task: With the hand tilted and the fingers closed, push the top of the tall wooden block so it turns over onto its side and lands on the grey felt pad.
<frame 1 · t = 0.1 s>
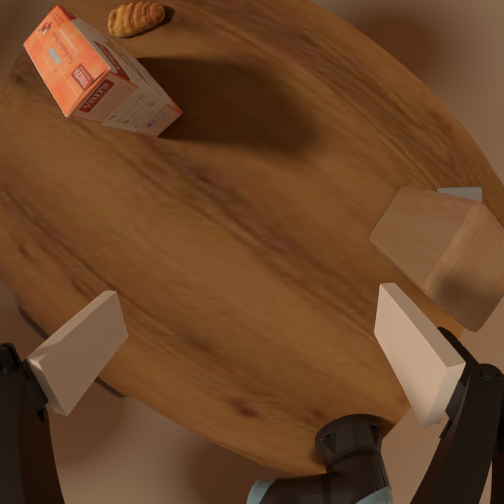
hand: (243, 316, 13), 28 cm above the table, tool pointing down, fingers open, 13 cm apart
cracker box: (145, 94, 36), on the table
pastry: (137, 21, 33), on the table
wooden block: (406, 229, 39), on the table, touching felt pad
felt pad: (460, 223, 38), on the table
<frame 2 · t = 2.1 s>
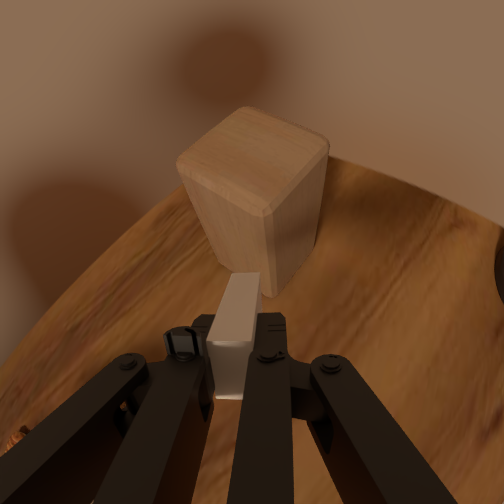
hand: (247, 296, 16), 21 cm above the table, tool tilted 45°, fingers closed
pastry: (25, 458, 26), on the table
wooden block: (266, 255, 40), on the table, touching felt pad
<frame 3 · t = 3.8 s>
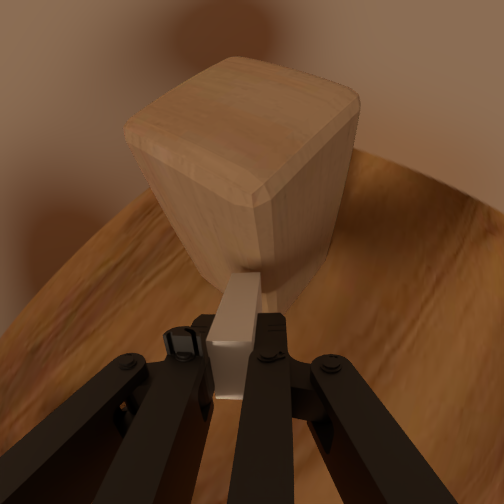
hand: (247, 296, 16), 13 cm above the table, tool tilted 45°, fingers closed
wooden block: (263, 267, 31), on the table, touching felt pad, gripper
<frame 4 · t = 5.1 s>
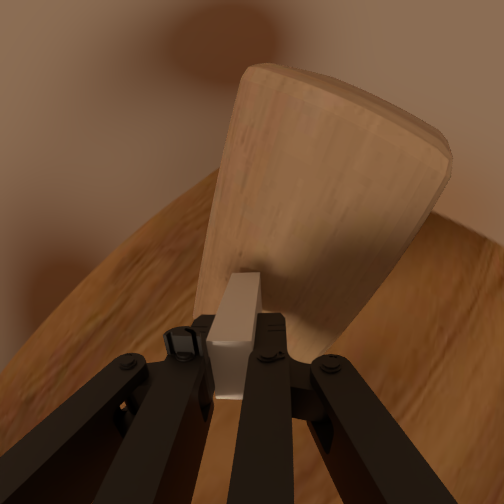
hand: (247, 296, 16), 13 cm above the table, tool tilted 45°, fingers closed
wooden block: (266, 326, 25), point 2 cm above the table, touching felt pad, gripper
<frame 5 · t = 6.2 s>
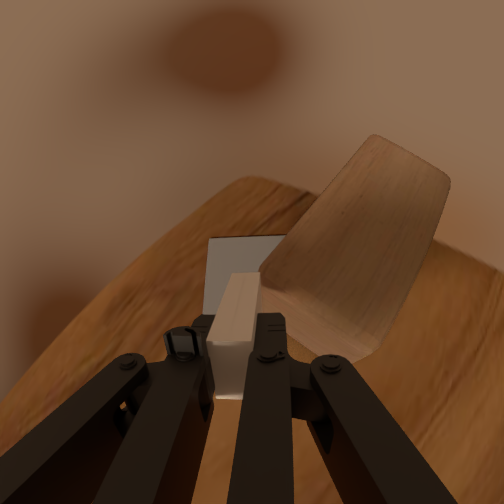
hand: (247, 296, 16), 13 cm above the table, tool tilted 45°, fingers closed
wooden block: (302, 334, 22), point 5 cm above the table, touching felt pad
felt pad: (262, 279, 30), on the table
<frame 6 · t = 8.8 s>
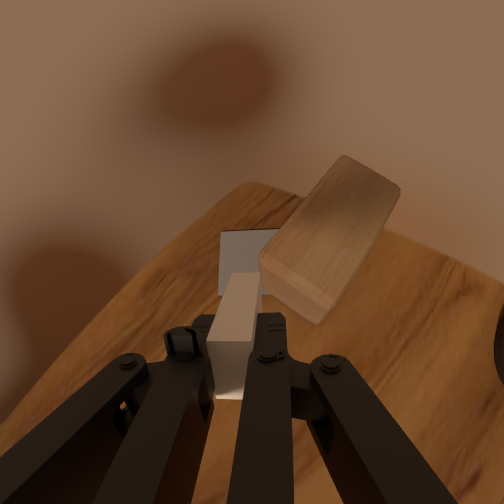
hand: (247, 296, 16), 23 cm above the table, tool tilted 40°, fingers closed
wooden block: (288, 297, 34), point 5 cm above the table, touching felt pad
felt pad: (260, 261, 42), on the table
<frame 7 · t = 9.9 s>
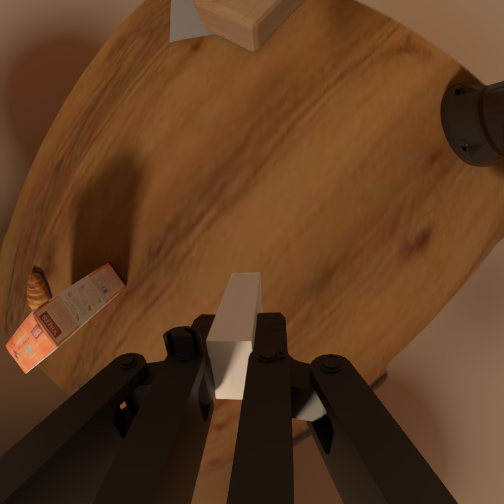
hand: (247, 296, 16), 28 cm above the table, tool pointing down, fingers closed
cracker box: (96, 290, 49), on the table
pastry: (42, 294, 51), on the table
wooden block: (222, 28, 30), point 5 cm above the table, touching felt pad
felt pad: (206, 12, 34), on the table
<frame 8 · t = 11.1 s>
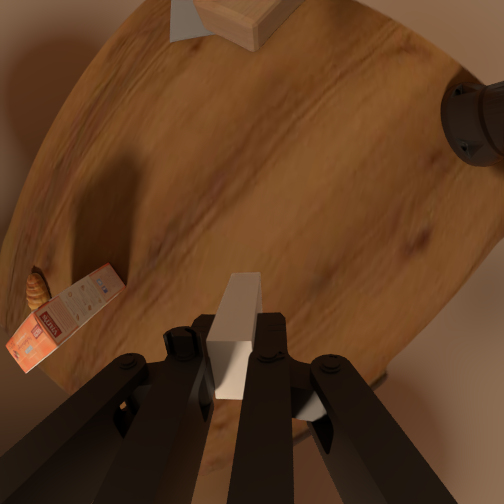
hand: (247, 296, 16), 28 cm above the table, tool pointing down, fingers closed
cracker box: (96, 290, 49), on the table
pastry: (41, 294, 51), on the table
wooden block: (223, 28, 30), point 5 cm above the table, touching felt pad
felt pad: (206, 12, 34), on the table
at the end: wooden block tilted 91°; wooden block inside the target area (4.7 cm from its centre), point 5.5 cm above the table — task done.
